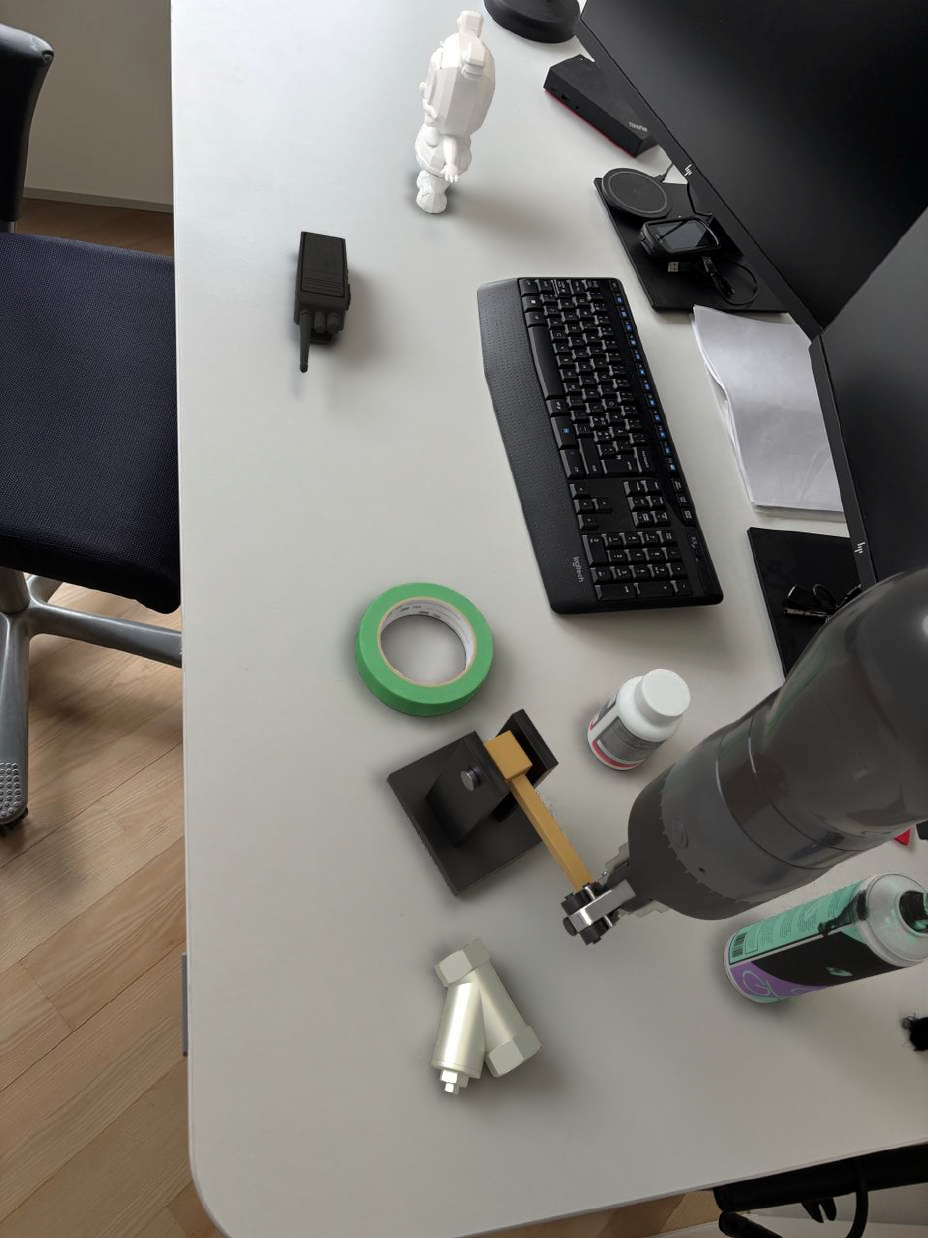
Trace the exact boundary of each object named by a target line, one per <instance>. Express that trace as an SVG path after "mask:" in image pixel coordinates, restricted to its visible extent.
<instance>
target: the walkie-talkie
mask: <svg viewBox="0 0 928 1238" xmlns="http://www.w3.org/2000/svg"><path fill="white" fill-rule="evenodd" d="M299 237H300V238H299V247H298V254H297V255H298V256H297V264H296V275H295V288H294V289H295V290H294V307H293V322H294V324H295V325H297V326H299V337H300V339H299V341H300V342H299V371H300V372H301V373H302V374H306V373H307V372H308V369H309V364H308V363H309V359H310V358H309V356H310V355H309V354H310V342H311V343H312V342H313V343H319V344H325V345H331V344H333V343H332V342H333V335H336V334H338V333H339V332H342V331H343V330H344V326H345V321H346V314H347V312H348V311H349V309H350V306H351V300H352V292H351V284H350V283H349V268H348V253H347V241H346V240H347V239H346V238H344V237H340V236H334V235H328V234H323V233H322V234H321V233H317V232H311V231H304V230H303V231H300V236H299Z"/></svg>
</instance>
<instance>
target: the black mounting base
mask: <svg viewBox="0 0 928 1238" xmlns="http://www.w3.org/2000/svg"><path fill="white" fill-rule="evenodd" d="M507 731H511V733H512V734H513V736H514V737H515V739H516V740H517V742H518V743H519V745H520V746H521V748H522V749H523V751H524V752H525V754H526V755H527V757H528V758H529V760H530V761H531V763H532V766H531V768H530V769H529V770H528V772H527V773H526V774H525V776H526V777H527V779H528V781H529V782H530V784H531V785H532V787H533V788H534V790H535V791H536V789H537V788H538V787H539V785H541V784H542V783H543V781H544V780H546V778H547V777H548V776H549V775H550V774H551V773H552V772H553V770H555V768H556V767H558V766H559V761H558V759H557V758H556V756H555V755H554V754H553V752H552V751H551V749H550V747H549V746H548V744H547V743H546V741H545V740H544V737H542V735H541V734H540V732H539V730H538V729H537V727H536V726H535V725H534V723H533V721H532V719H531V718H530V717H529V715H528V714H527V712H526V711H525V709H524V708H520V709H519V710H517V711H515V712H512V713H511V714H510V716H509V717H508V719H507V720H506V721H505V723H504V724H503V725H502V727H501V729H500V730H499V731H498V732H497V734H496V735H495V736H494V738H496V737H498V736H500V735H501V734H503V733H505V732H507ZM483 744H484V742H483V740H482V739H481V737H480V735H479V734H478V732H477V730H473V731H471V732H469V733H467V734H466V735H464V736H462V737H459V738H458V739H455V740H453V741H452V742H450V743H448V744H446V745H444V746H442V747H440V748H437V749H436V750H434V751H432V752H431V753H428V754H426V755H424V756H422V757H419V758H417V760H415V761H412V762H410V763H408V764H407V765H405V766H403V767H401V768H399V769H397V770H395V771H393V772H391V773H389V774H388V777H386V781H387V783H388V785H389V786H390V788H391V790H392V791H393V793H394V795H395V797H396V799H397V800H398V802H399V803H400V805H401V807H402V809H403V810H404V812H405V814H406V815H407V817H408V820H409V821H410V822H411V824H412V825H413V827H414V829H415V831H416V833H417V834H418V836H419V838H420V840H421V841H422V843H423V845H424V846H425V848H426V850H427V851H428V853H429V854H430V858H431V859H432V860H433V861H434V864H435V865H436V867H437V870H438V871H439V872H440V874H441V876H442V877H443V879H444V881H445V882H446V884H447V886H448V888H449V889H450V891H451V893H452V894H453V896H457V895H458V894H460V893H462V892H463V891H465V890H467V889H468V888H470V887H472V886H473V885H475V884H477V883H478V882H479V881H481V880H483V879H485V878H486V877H489V876H490V875H491V874H493V873H495V872H496V871H499V870H500V869H501V868H503V867H504V866H506V865H508V864H509V863H511V862H513V861H515V860H516V859H517V858H519V857H521V856H523V855H524V854H526V853H528V852H530V851H531V850H533V849H535V848H536V847H538V846H539V845H541V844H542V843H544V841H543V840H542V838H541V837H540V835H539V834H538V832H537V831H536V829H535V828H534V826H533V824H532V823H531V821H530V820H529V818H528V817H527V815H526V814H525V812H524V811H523V809H522V808H521V806H520V804H519V803H518V801H517V800H516V798H515V797H514V795H513V794H512V792H511V791H510V789H509V787H508V786H507V784H506V783H505V781H504V779H503V778H502V776H501V775H500V773H499V771H498V770H497V768H496V767H495V765H494V764H493V762H492V760H491V759H490V757H489V756H488V754H487V752H486V751H485V749H484V748H483Z"/></svg>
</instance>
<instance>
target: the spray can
mask: <svg viewBox="0 0 928 1238" xmlns="http://www.w3.org/2000/svg"><path fill="white" fill-rule="evenodd" d="M926 961H928V889H927V888H926V887H925V886H924V885H923V884H922V883H921V882H919V881H918V880H917V879H915V878H913V877H912V876H910V875H908V874H905V873H902V872H897V871H891V872H885V873H878V874H875V875H873V876H870V877H867V878H864V879H861V880H860V881H857V882H854V883H852V884H850V885H847V886H845V887H842V888H839V889H837V890H835V891H831V892H830V893H827V894H825V895H822V896H820V897H817V898H815V899H812V900H810V901H807V902H805V903H803V904H800V905H797V906H795V907H792V908H790V909H787V910H785V911H783V912H780V913H778V914H775V915H772V916H770V917H768V918H765V919H762V920H760V921H757V922H754V923H752V924H751V925H748V926H746V927H743V928H740V929H738V930H737V931H735V932H733V933H732V935H731V936H730V937H729V938H728V940H727V942H726V944H725V947H724V949H723V964H724V969H725V973H726V975H727V978H728V980H729V982H730V983H731V985H732V986H733V987H734V989H735V990H736V991H737V992H738V993H739V994H740V995H741V996H743V997H744V998H746V999H747V1000H749V1001H752V1002H754V1003H757V1004H766V1003H774V1002H777V1001H781V1000H785V999H790V998H794V997H797V996H801V995H806V994H809V993H813V992H817V991H821V990H825V989H829V988H833V987H836V986H841V985H844V984H849V983H852V982H856V981H861V980H864V979H868V978H871V977H876V976H880V975H883V974H888V973H892V972H896V971H899V970H904V969H907V968H911V967H915V966H917V965H921V964H922V963H925V962H926Z"/></svg>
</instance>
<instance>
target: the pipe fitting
mask: <svg viewBox="0 0 928 1238" xmlns="http://www.w3.org/2000/svg"><path fill="white" fill-rule="evenodd" d="M490 960H491V954H490V953H489V952H488V950H487V948H486V946H485V944H484V943H483V940H482V939H481V938H475V939H474V940H472V941H471V942H468V944H466V945H464V946H462V947H461V948H459V949H458V950H456V951H455V952H453V953H452V954H450V955H448V956H447V957H445V958H443V959H442V960H441V961H440V962H438V963H436V964H435V965H434V971H435V973H436V974H437V976H438V978H439V981H440V982H441V984H442V986H443V987H444V988H447V994H446V998H445V1002H444V1007H443V1011H442V1014H441V1015H442V1016H441V1020H440V1024H439V1029H438V1033H437V1037H436V1040H435V1046H434V1050H433V1055H432V1059H431V1063H430V1064H431V1067H433V1068H435V1069H438V1070H441V1071H440V1075H439V1082H442V1083H445V1085H444V1088H443V1090H444V1092H447V1093H450V1094H454V1095H458V1094H459V1091H460V1088H467V1087H468V1083H469V1078H471V1079H477V1080H479V1079H480V1078H481V1076H482V1070H483V1067H484V1063H485V1064H486V1066H487V1068H488V1069H489V1071H490V1073H491V1075H492V1076H493V1077H495V1078H500V1077H502V1076H504V1075H505V1074H508V1073H509V1072H511V1071H513V1070H514V1069H515V1068H517V1067H518V1066H520V1065H521V1064H523V1063H524V1062H526V1061H527V1060H529V1059H530V1058H531V1057H532V1056H534V1055H535V1054H536V1053H537V1052H538V1051H540V1049H541V1047H542V1043H541V1041H540V1040H539V1038H538V1037H537V1035H536V1033H535V1031H534V1029H533V1028H532V1026H530V1025H526V1023H525V1021H524V1019H523V1018H522V1016H521V1014H520V1012H519V1011H518V1008H517V1007H516V1005H515V1004H514V1002H513V1000H512V998H511V997H510V995H509V993H508V991H507V989H506V988H505V986H504V984H503V983H502V981H501V979H500V977H499V976H498V973H497V972H496V970H495V968H494V967H493V965H492V964H491V961H490Z"/></svg>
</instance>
